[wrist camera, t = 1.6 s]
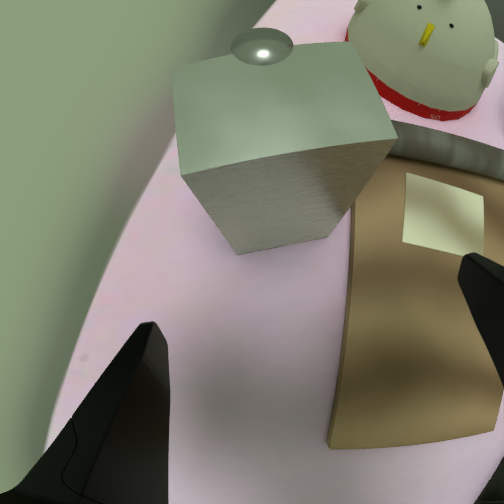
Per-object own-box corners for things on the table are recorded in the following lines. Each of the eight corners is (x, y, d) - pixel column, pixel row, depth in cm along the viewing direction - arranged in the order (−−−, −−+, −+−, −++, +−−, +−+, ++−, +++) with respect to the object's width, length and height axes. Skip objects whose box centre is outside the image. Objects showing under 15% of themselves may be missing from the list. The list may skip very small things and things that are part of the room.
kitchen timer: (319, 65, 23) (337, -87, 8) (373, 4, 24) (397, -100, 10) (459, 150, 21) (564, 41, 6) (482, 68, 22) (541, -20, 8)
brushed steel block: (327, 237, 20) (398, 138, 8) (237, 255, 21) (180, 175, 8) (309, 166, 21) (338, 21, 9) (224, 182, 22) (169, 46, 9)
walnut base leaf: (486, 426, 17) (510, 438, 13) (326, 442, 18) (335, 465, 15) (495, 166, 20) (518, 149, 17) (350, 134, 22) (361, 107, 18)
